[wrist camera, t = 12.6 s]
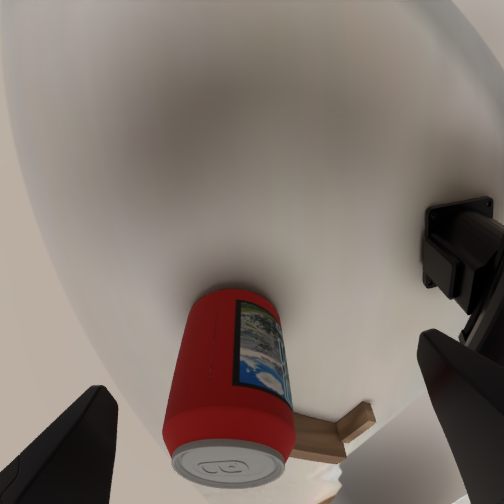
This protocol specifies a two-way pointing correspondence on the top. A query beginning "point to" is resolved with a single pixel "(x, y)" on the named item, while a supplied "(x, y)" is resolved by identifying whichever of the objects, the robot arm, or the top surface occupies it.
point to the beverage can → (230, 394)
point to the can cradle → (329, 435)
